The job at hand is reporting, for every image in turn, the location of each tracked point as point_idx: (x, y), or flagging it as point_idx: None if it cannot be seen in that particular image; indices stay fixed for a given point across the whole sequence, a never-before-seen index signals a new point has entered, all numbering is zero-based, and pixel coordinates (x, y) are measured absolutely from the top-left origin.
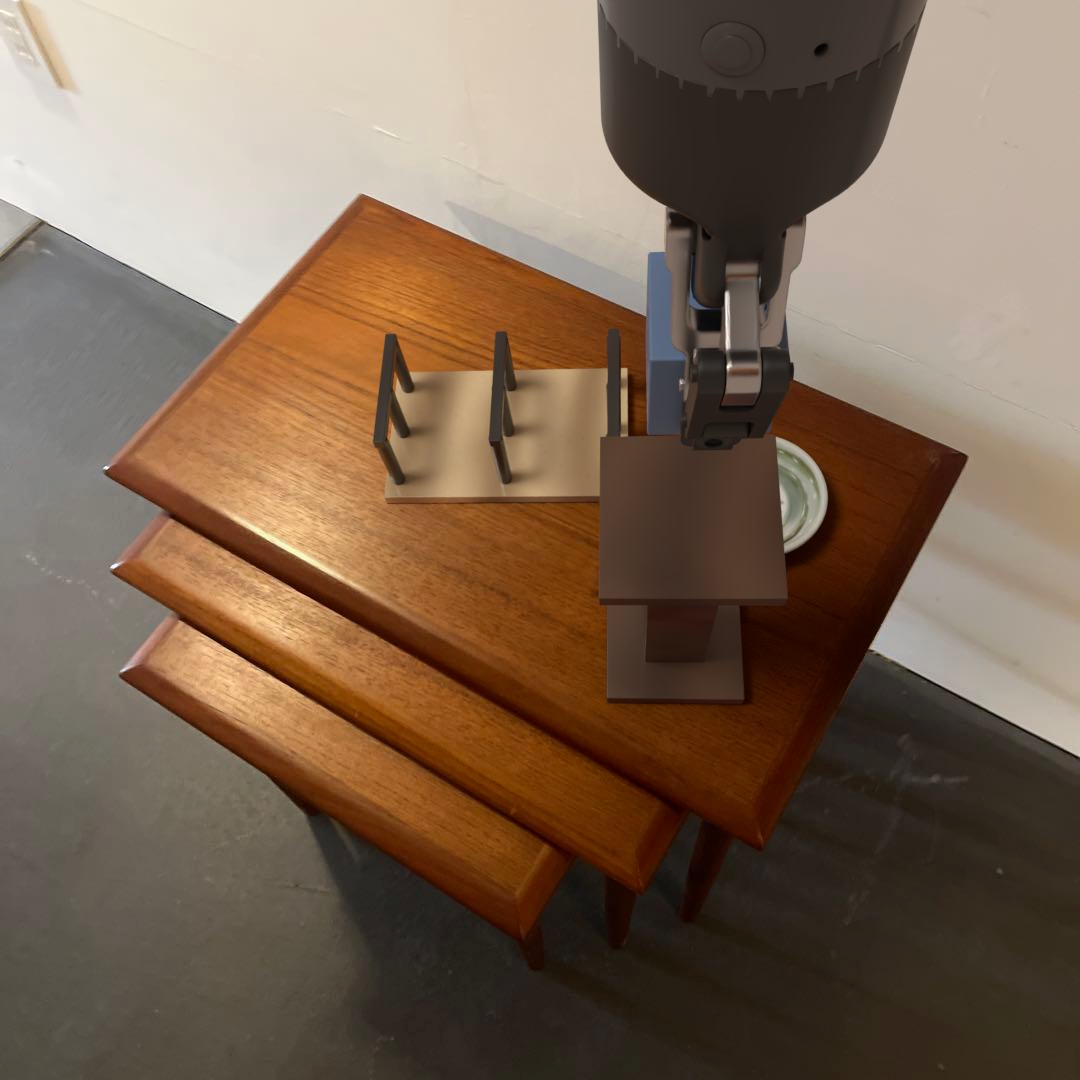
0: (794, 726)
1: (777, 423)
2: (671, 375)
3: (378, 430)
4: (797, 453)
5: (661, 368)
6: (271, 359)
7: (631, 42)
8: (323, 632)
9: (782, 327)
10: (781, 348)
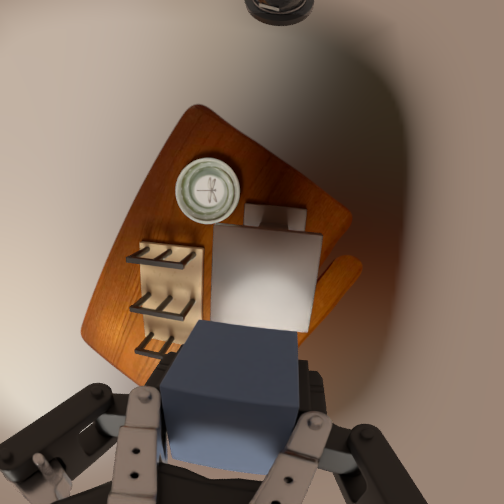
0: (318, 187)
1: (168, 174)
2: None
3: None
4: (187, 169)
5: None
6: (143, 375)
7: None
8: None
9: (312, 474)
10: (287, 411)
